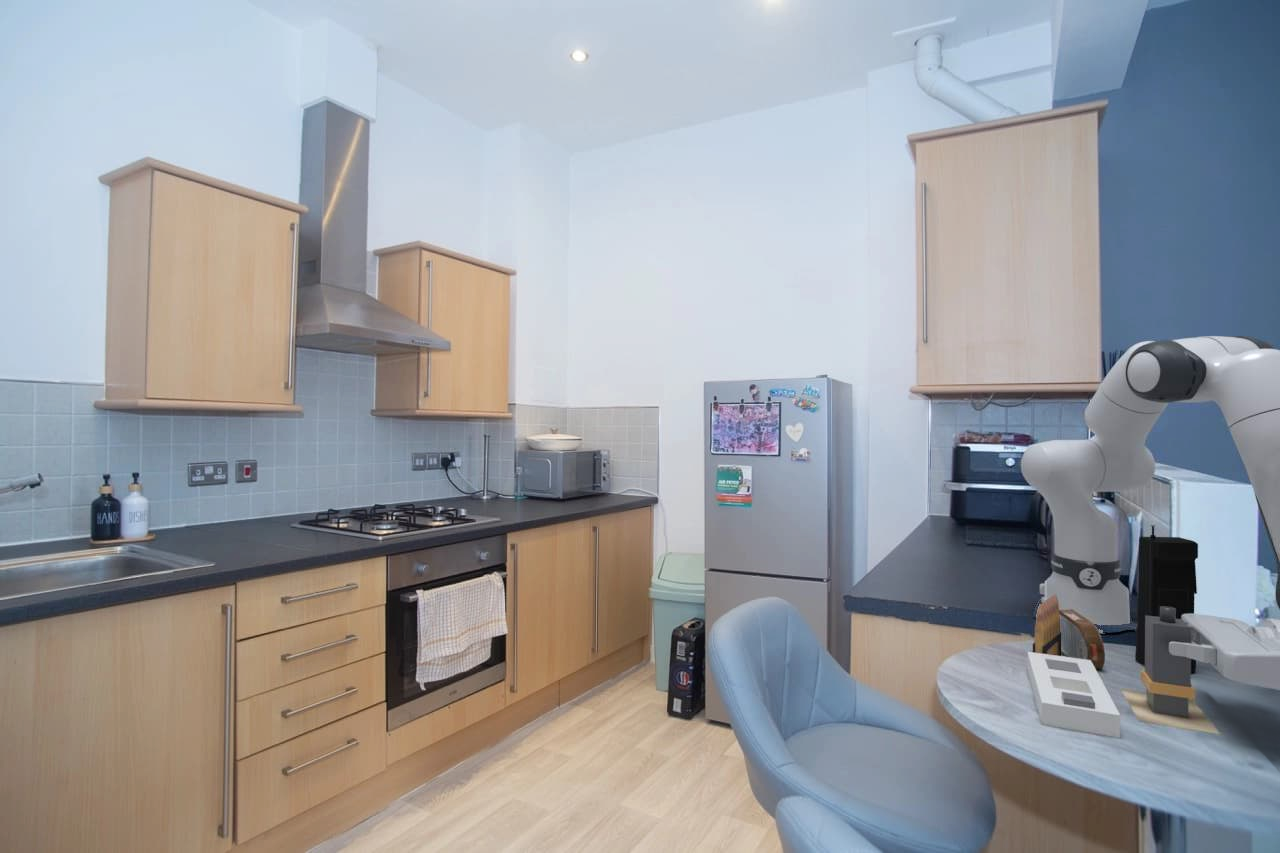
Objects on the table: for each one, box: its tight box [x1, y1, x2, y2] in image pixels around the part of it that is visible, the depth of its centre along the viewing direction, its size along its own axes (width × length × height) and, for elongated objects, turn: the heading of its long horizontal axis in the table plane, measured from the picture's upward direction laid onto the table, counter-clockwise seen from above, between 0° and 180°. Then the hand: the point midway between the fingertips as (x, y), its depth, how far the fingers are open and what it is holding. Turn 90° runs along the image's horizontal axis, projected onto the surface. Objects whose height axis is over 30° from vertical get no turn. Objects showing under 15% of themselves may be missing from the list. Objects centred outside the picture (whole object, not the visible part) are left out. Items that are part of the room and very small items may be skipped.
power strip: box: [1026, 651, 1121, 739], centre depth 100 cm, size 22×9×5 cm, turn 154°
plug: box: [1140, 606, 1196, 718], centre depth 96 cm, size 5×5×15 cm
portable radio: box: [1134, 524, 1199, 674], centre depth 115 cm, size 8×6×25 cm
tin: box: [1059, 609, 1106, 670], centre depth 118 cm, size 15×3×8 cm, turn 168°
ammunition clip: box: [1032, 594, 1062, 656], centre depth 116 cm, size 11×2×12 cm, turn 134°
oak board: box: [1120, 688, 1222, 735], centre depth 96 cm, size 12×9×1 cm
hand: (1160, 638), depth 97 cm, fingers open, 7 cm apart
